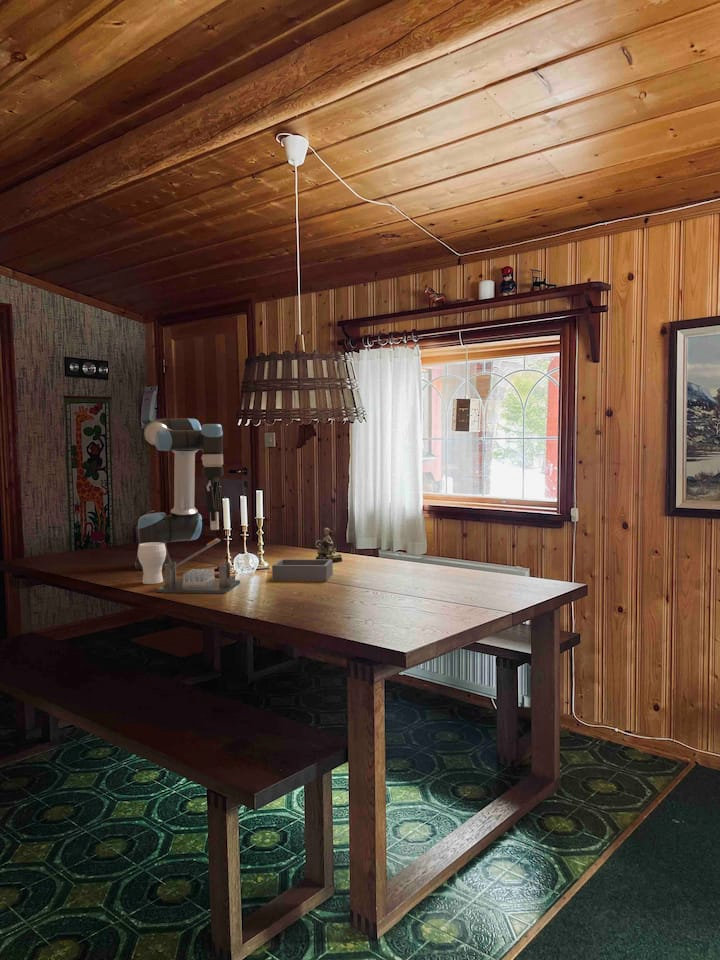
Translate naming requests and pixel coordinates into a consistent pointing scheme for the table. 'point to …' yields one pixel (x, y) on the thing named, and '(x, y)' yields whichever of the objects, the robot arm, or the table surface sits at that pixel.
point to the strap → (197, 552)
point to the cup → (152, 561)
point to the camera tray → (302, 570)
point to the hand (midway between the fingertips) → (214, 529)
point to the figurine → (327, 548)
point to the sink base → (196, 590)
